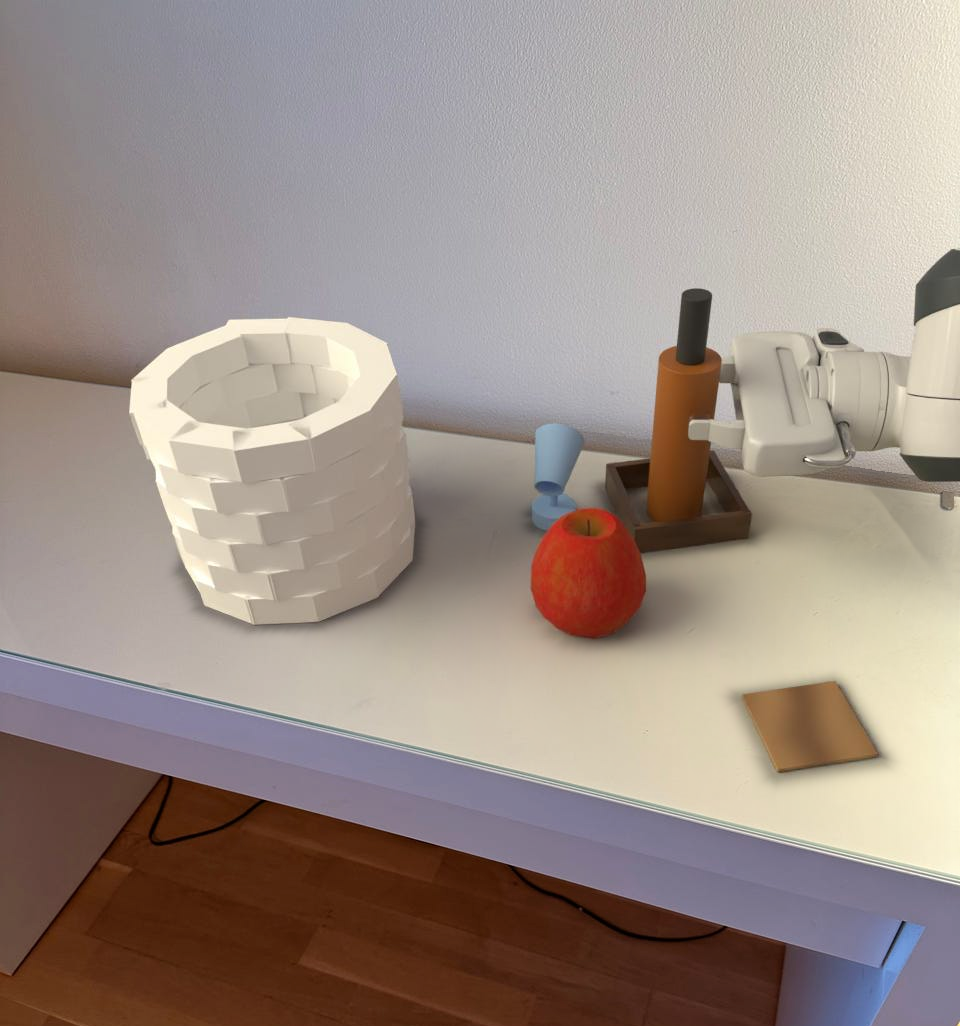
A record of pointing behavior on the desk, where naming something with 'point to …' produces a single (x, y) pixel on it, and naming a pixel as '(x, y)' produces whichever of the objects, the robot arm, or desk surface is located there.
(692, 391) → the bottle
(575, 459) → the spotlight
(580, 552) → the apple
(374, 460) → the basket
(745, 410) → the robot arm
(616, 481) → the square frame
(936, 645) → the desk surface
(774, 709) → the coaster
